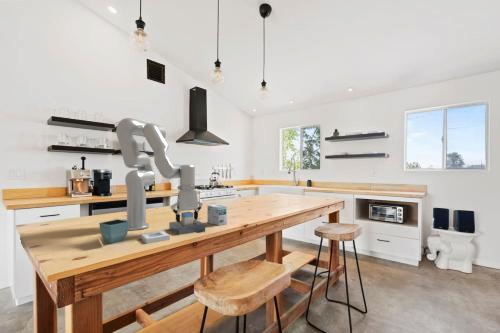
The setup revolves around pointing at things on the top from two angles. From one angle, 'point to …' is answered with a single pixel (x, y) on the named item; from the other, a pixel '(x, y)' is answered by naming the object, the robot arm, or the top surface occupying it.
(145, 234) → the grey base plate
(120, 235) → the flower pot
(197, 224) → the port block
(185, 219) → the plug
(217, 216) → the light bulb box
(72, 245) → the top surface
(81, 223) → the top surface
